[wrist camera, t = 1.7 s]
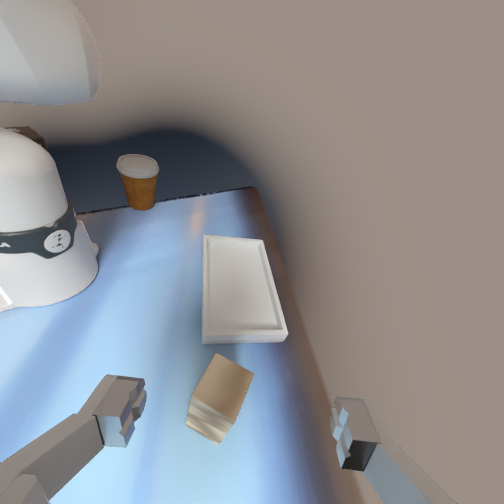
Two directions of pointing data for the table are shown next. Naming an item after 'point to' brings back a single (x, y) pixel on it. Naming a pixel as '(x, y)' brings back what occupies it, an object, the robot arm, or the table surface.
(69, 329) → the table surface
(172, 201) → the table surface
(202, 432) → the ash block
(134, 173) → the disposable coffee cup
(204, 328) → the tray
